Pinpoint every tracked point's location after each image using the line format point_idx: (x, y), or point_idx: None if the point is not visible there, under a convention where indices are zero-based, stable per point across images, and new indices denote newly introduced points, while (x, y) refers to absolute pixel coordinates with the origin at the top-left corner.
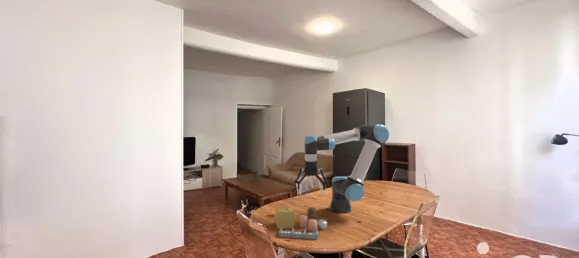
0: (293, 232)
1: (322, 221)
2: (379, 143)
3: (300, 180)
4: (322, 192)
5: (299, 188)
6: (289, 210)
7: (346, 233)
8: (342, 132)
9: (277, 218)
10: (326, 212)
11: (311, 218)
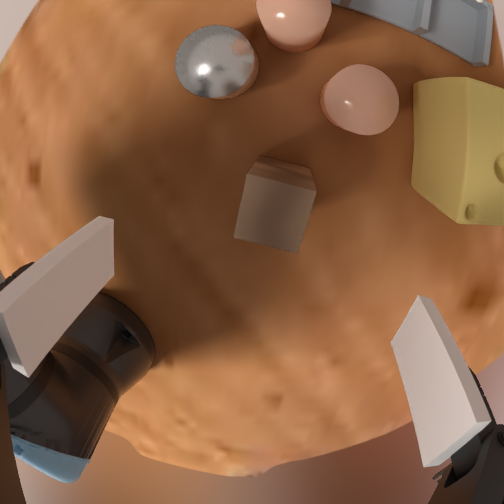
0: (418, 6)
1: (209, 57)
2: None
3: (495, 496)
4: (75, 236)
5: (466, 364)
6: (492, 125)
7: (106, 12)
8: None
9: None
10: (171, 313)
11: (282, 165)
